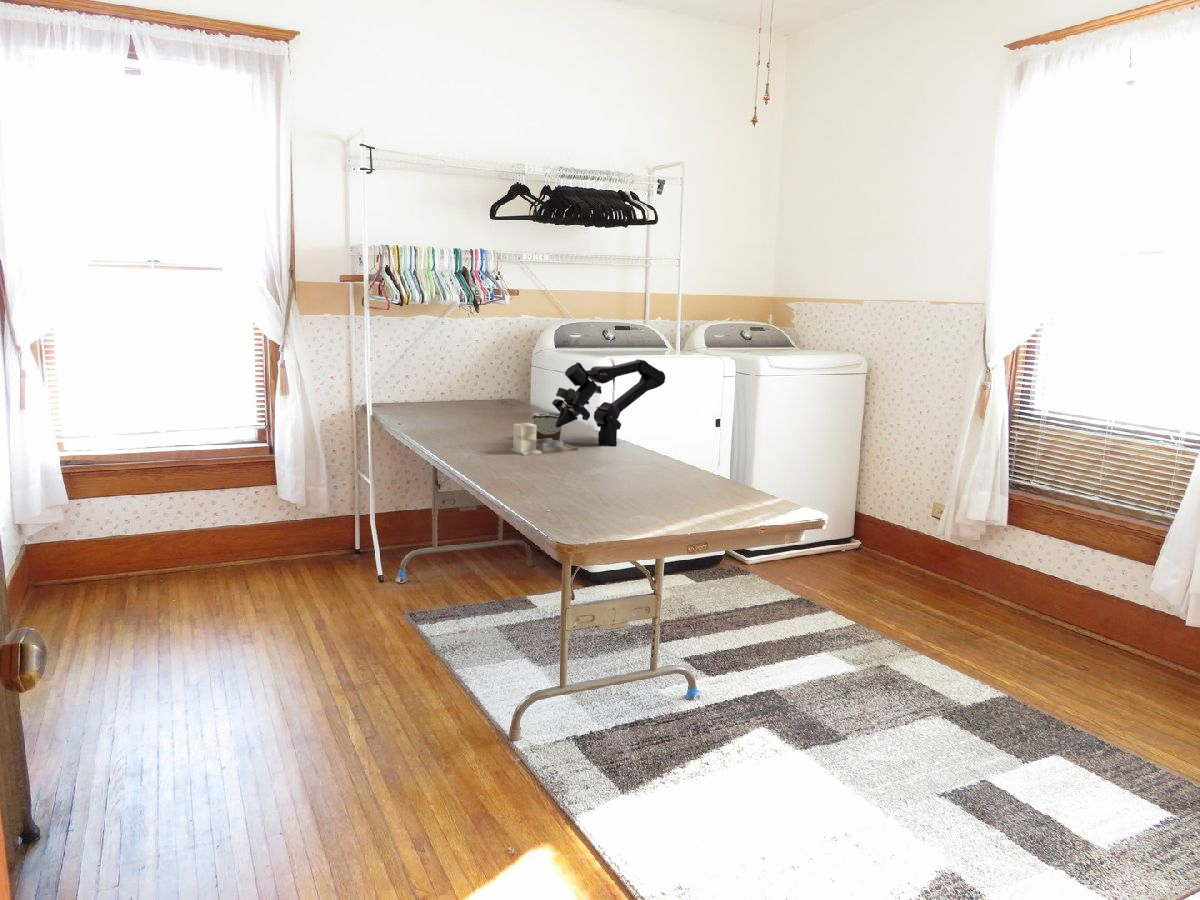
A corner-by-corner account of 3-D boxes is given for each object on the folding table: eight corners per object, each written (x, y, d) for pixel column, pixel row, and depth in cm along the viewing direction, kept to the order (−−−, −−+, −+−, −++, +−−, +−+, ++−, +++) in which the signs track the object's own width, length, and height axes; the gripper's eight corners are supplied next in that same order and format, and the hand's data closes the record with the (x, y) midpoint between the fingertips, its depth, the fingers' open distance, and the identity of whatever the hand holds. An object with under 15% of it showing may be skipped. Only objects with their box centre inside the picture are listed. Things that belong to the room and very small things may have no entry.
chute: (564, 445, 320) (564, 436, 320) (578, 450, 312) (578, 441, 311) (511, 450, 309) (511, 441, 308) (524, 455, 300) (524, 445, 300)
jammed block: (528, 447, 310) (528, 422, 308) (536, 450, 305) (536, 425, 303) (513, 448, 307) (513, 423, 305) (521, 451, 302) (521, 426, 300)
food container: (565, 438, 335) (566, 412, 333) (563, 441, 329) (564, 415, 327) (534, 436, 336) (534, 411, 334) (531, 439, 330) (531, 413, 328)
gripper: (556, 376, 318) (530, 408, 315) (583, 382, 303) (555, 415, 299) (574, 396, 324) (548, 428, 320) (601, 403, 309) (574, 436, 305)
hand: (556, 426), depth 311 cm, fingers closed
